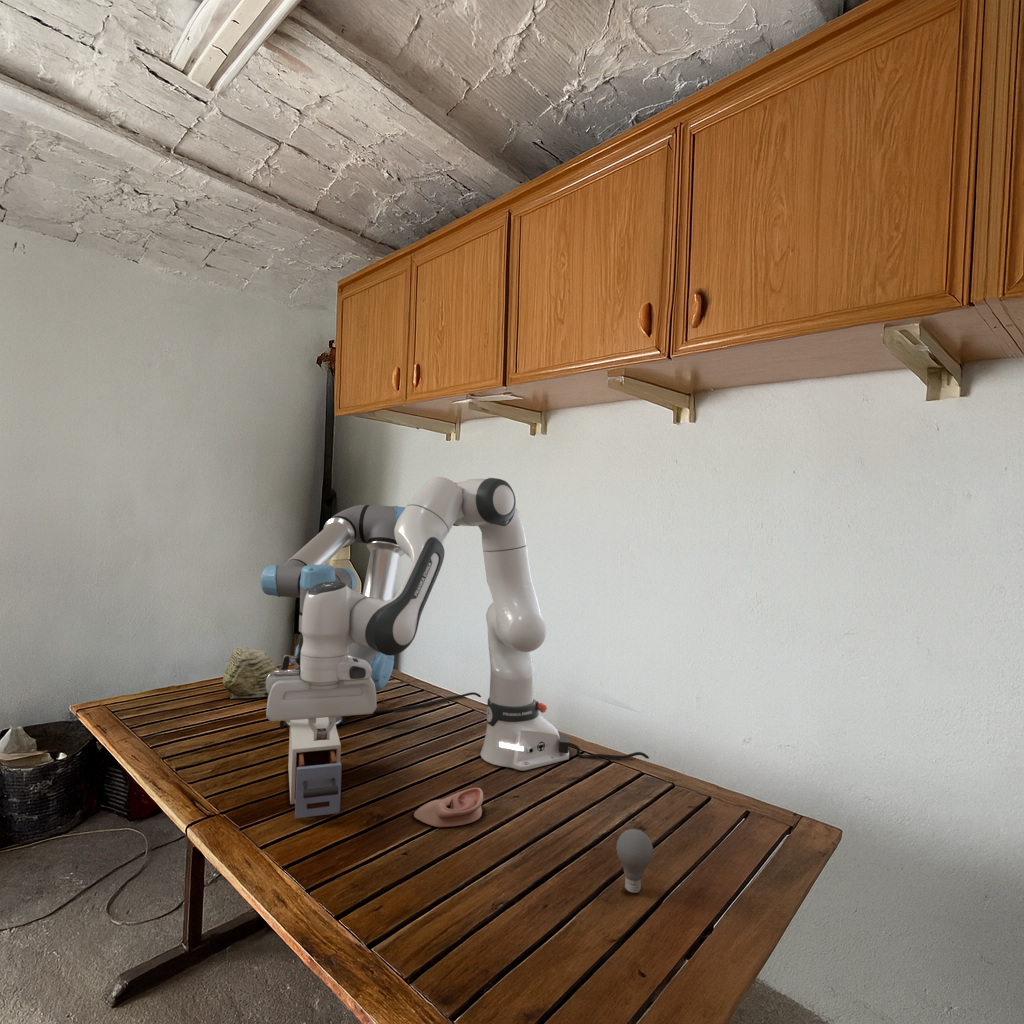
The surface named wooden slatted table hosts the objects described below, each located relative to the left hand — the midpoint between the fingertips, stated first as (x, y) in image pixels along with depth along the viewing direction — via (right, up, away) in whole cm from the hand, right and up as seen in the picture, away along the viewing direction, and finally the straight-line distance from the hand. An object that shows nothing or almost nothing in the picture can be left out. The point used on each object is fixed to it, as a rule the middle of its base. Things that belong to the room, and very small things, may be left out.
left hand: (313, 724), depth 146 cm
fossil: (-35, -8, +52) cm, 63 cm away
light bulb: (+66, -15, -40) cm, 78 cm away
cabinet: (+1, -11, -5) cm, 12 cm away
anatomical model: (+33, -13, -17) cm, 39 cm away
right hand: (+9, +5, -24) cm, 26 cm away
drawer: (+5, -10, -16) cm, 20 cm away
